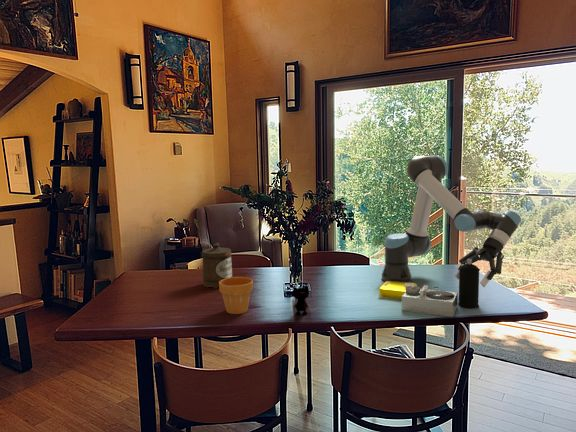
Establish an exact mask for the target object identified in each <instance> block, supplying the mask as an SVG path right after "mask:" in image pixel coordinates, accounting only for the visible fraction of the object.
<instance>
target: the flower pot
mask: <svg viewBox="0 0 576 432" xmlns="http://www.w3.org/2000/svg"><path fill="white" fill-rule="evenodd" d="M253 280H254V279H252V278H251V277H246V276H232V277H231V278H226V279H223V280H221V281H220V282H219V288H218V289H219V292H220V293H221V294H222V298H223V303H224V307H225V310H226V313H228V314H230V315H241V314H245V313H246V312H248V310H249V303H250V297H251V292H252V291H253V289H254V281H253Z"/></svg>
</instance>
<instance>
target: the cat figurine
mask: <svg viewBox="0 0 576 432" xmlns="http://www.w3.org/2000/svg"><path fill="white" fill-rule="evenodd" d="M292 289H293V291H292V294H293V297H294V298H295V299H296V300H297V301H296V303H294V308H295V310H296V312H295V315H296V316H299V317H300V316H307V315H308V314H309V313H308V312H307V308H309V305H308V303H307V302H306V299H307V298H308V297H309V295H310V292H309V291H310V289H309V285H307V286H305V288H304V287H299V288H297V287H296V286H293V288H292ZM301 312H302V313H301Z"/></svg>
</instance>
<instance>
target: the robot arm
mask: <svg viewBox="0 0 576 432" xmlns="http://www.w3.org/2000/svg"><path fill="white" fill-rule="evenodd" d="M448 165H449V164H448V163H447V162H446V159H445V158H443V157H442V156H440V155H417V156H415V157H413V158H411V159H410V161H409V162H408V163H407V167H406V173H407V175H408V178H409V180H411V182H412V183H414V185H415V186H417V187H418V188H417V193H416V196H415V201H414V206H413V211H412V215H411V219H410V220H411V221H410V226H409V227H407V228H406V231H405V233H401V232H399V233H392V234H389V235H387V236H386V237H385V239H384V240H385V242H384V267H383V269H382V273H381V280H382V281H384V282H386V281H395V282H406V283H410V282H411V281H412V273H411V270H410V267H409V258H414V257H420V256H422V255H425V254H427V253H428V252H429V251H430V249H431V246H432V240H431V238H430V234H429V232H428V231H427V230H428V225H429V221H430V218H431V217H430V216H431V212H432V208H433V203H434V202H436V204H437V205H439V206H440V208H442V209H443V210H444V211H445V212H446V213H447V214H448V216H449V217H451V218H452V219H453V220H454V226H455V228H456V229H457V230H458V231H459V232H464V233H465V232H466V233H467V232H473V231H476V230H477V231H478V230H484V229H488V230H491V232H490V233H489V235H488V236H487V238H485V240H484V242H483V244H482V247H481V248H479V247H478V246H475V247H474V248H473V249H472V250H471V251H469V252H468V253H467V254H466V255H463V257H462V258H461V259H459V260H458V262H459V263H460V266H459V267H458V269H457V271H456V273H454V277H455V278H456V279H457V280H458V281H459V268H460V267H461V266H462V265H464V264H467V259H472V264H474V263H476V262H478V261H486V262H488V263H489V270H487V271H486V273H485V275H484V276H483V278H482V279H481V281H479V285H481V286H482V287H483V288H485V287H486V286H487V285H488V283H489V281H491V280H492V279H493V277H494V276H495V275H501V274H502V269H503V268H502V267H503V260H504V258H505V255H504V253H503V252H502V251H503V249H504V247H505V246H506V245H507V244H508V241H509V240H510V238H511V237H512V235H513V234H514V233H515V231H516V230H517V229H518V228H519V226H520V223H521V222H522V217H521V215H520V214H518V213H517V212H516V211H513V210H506V211H504V213H503V214H500V213H494V212H492V211H487V210H484V209H476V210H475V211H473V212H472V211H471V210H469V208H467V206H465V204H464V203H462V202H461V201H460V200H459V199H458V198H457V197H456V196H455V195H454V194H453V193H452V192H451V191H450V190H449V189H448V188H446V187H445V186H444V185H443V184H442V183H441V182H442V179H443V178H445V177H446V176H447V174H448V171H449V167H448ZM495 258H496V259H495ZM495 260H496V261H495Z"/></svg>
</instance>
